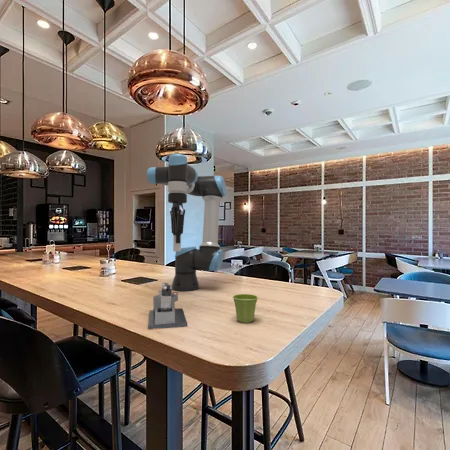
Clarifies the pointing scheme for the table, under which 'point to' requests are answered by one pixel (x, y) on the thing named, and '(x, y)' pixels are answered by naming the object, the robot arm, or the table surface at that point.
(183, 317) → the base
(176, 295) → the grey machine part
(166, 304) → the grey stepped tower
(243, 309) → the plant pot
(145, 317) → the table surface
